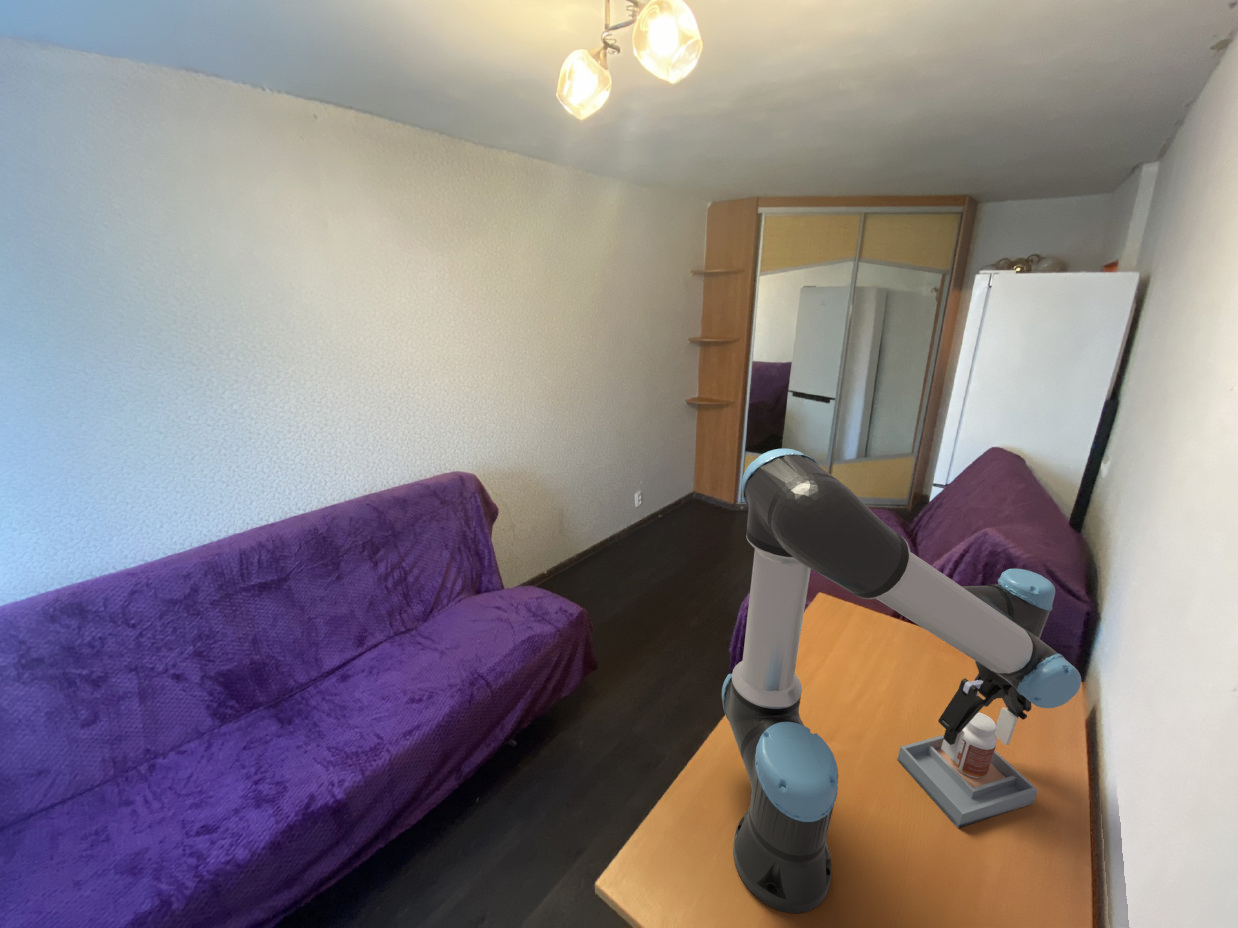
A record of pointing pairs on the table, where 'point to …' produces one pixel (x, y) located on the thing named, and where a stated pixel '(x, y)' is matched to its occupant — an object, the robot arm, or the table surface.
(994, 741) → the pill bottle
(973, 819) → the walled box
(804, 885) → the robot arm
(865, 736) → the table surface
